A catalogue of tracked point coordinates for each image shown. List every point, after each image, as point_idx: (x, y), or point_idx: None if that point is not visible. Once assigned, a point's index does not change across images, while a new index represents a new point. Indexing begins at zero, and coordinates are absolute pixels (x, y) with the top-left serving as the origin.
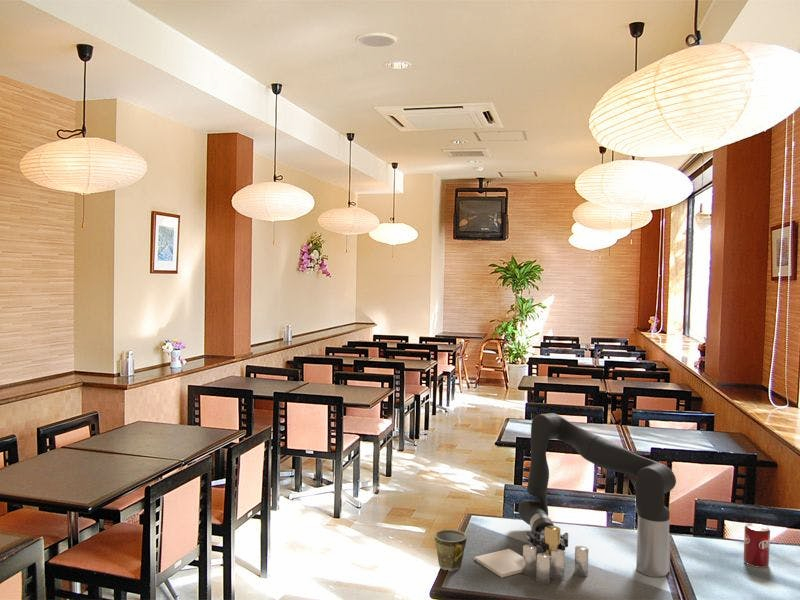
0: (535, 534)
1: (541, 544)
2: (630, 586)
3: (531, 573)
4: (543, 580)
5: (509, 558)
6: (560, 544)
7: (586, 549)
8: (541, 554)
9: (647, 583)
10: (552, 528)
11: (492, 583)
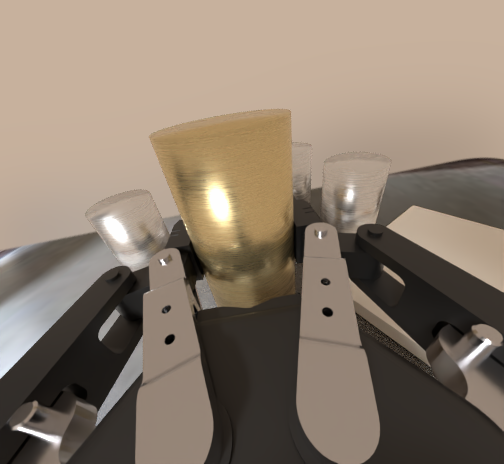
0: (459, 398)
1: (309, 206)
2: (79, 251)
3: None
4: None
5: None
6: None
7: (106, 201)
8: (296, 149)
9: (15, 273)
10: (222, 120)
11: (413, 192)
